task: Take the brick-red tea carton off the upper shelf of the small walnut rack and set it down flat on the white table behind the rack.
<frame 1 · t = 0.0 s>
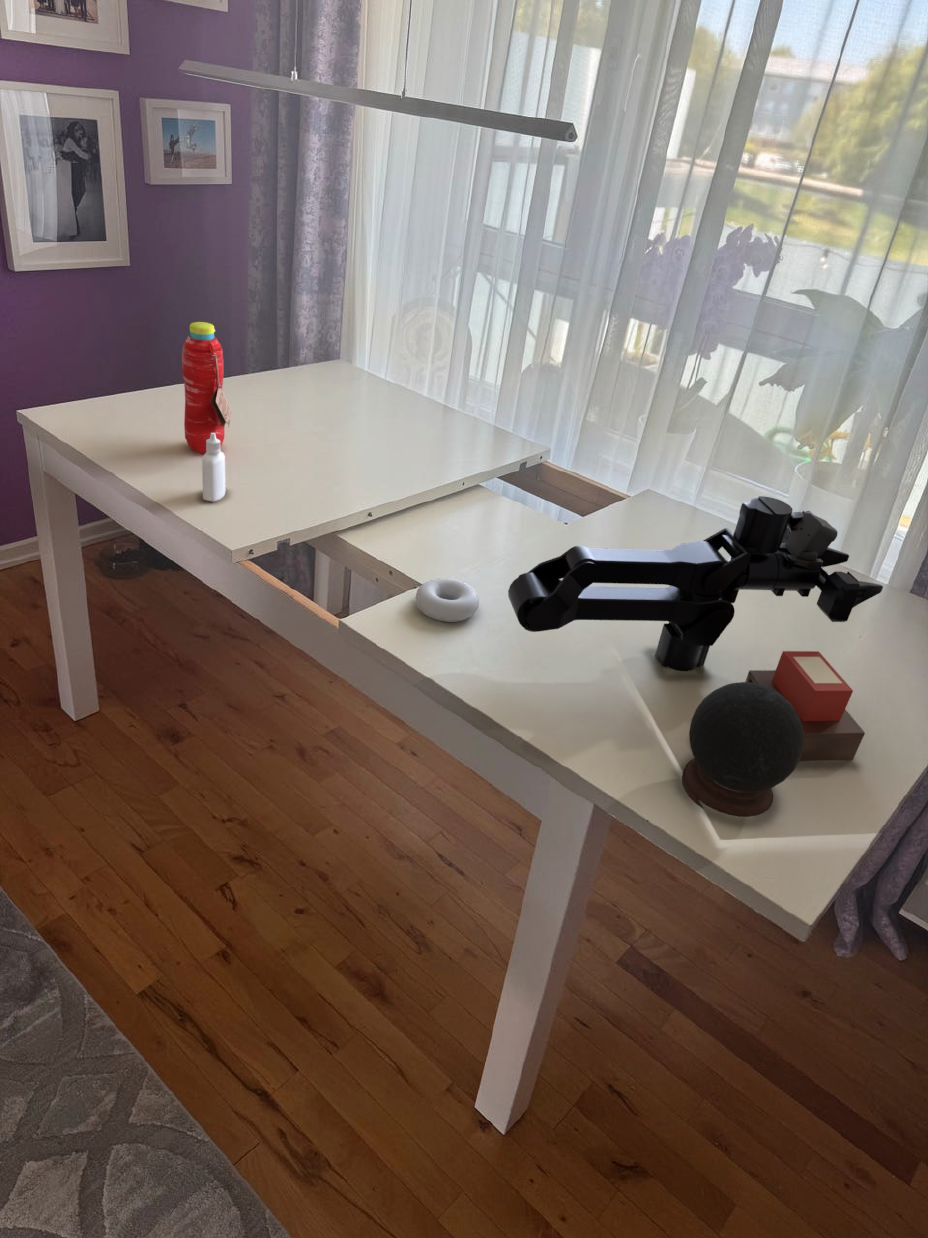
hand: (864, 572, 133), 17 cm above the table, tool horizontal, fingers open, 9 cm apart
eye dropper bottle: (214, 496, 166), on the table
water bottle: (209, 452, 183), on the table
tea carton: (805, 700, 123), point 5 cm above the table, touching walnut rack
donut: (445, 609, 142), on the table
sphere on wooden stand: (725, 790, 114), on the table
walnut rack: (792, 731, 126), on the table
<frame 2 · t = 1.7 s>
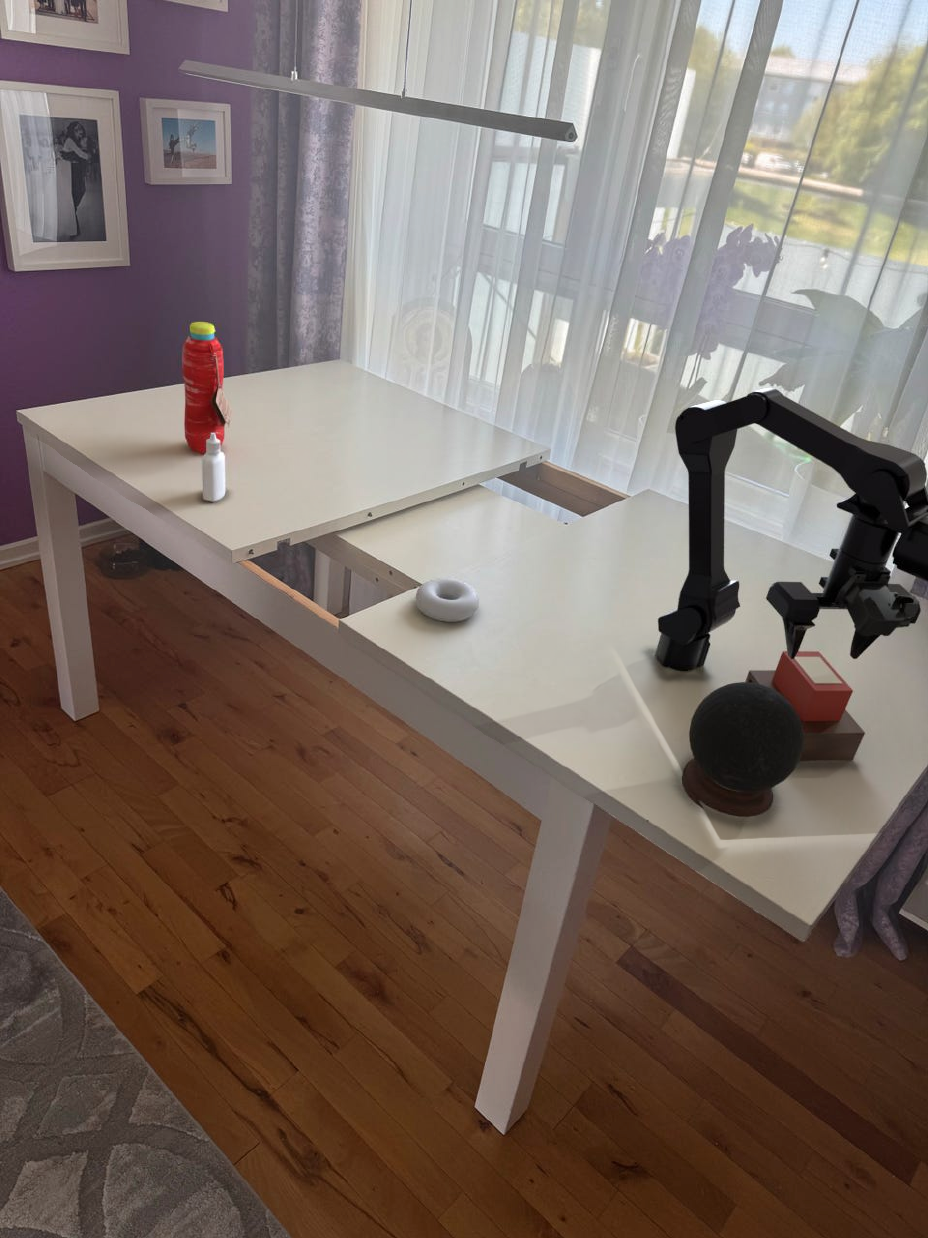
hand: (822, 657, 119), 12 cm above the table, tool pointing down, fingers open, 9 cm apart
nothing on the table moved.
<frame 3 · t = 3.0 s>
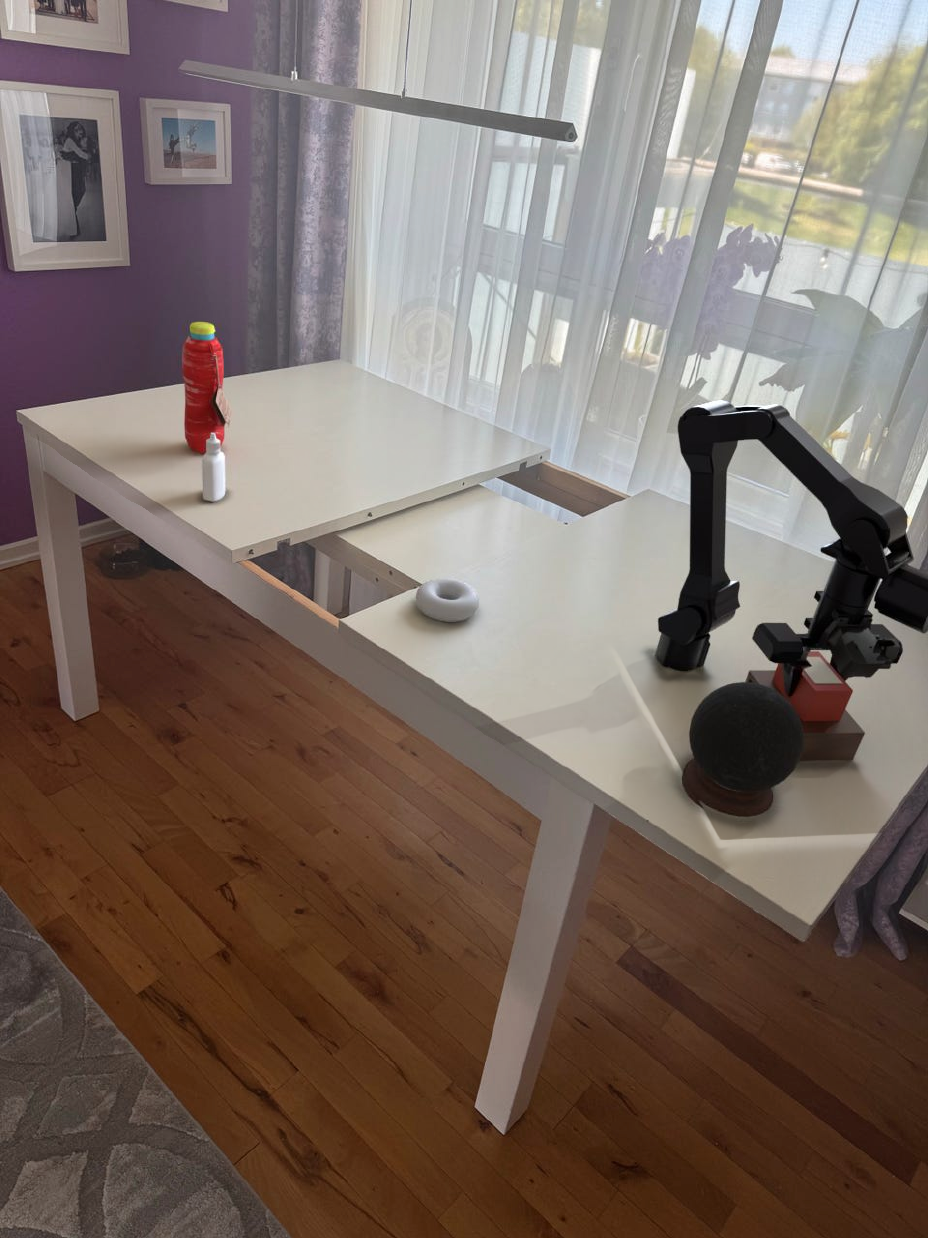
hand: (807, 694, 123), 6 cm above the table, tool pointing down, fingers closed on tea carton, 5 cm apart
tea carton: (805, 700, 123), point 5 cm above the table, touching gripper, walnut rack
everything else where it was.
when the fingers open (1 cm above the table, at t = 8.8 s): tea carton stays where it is, on the table.
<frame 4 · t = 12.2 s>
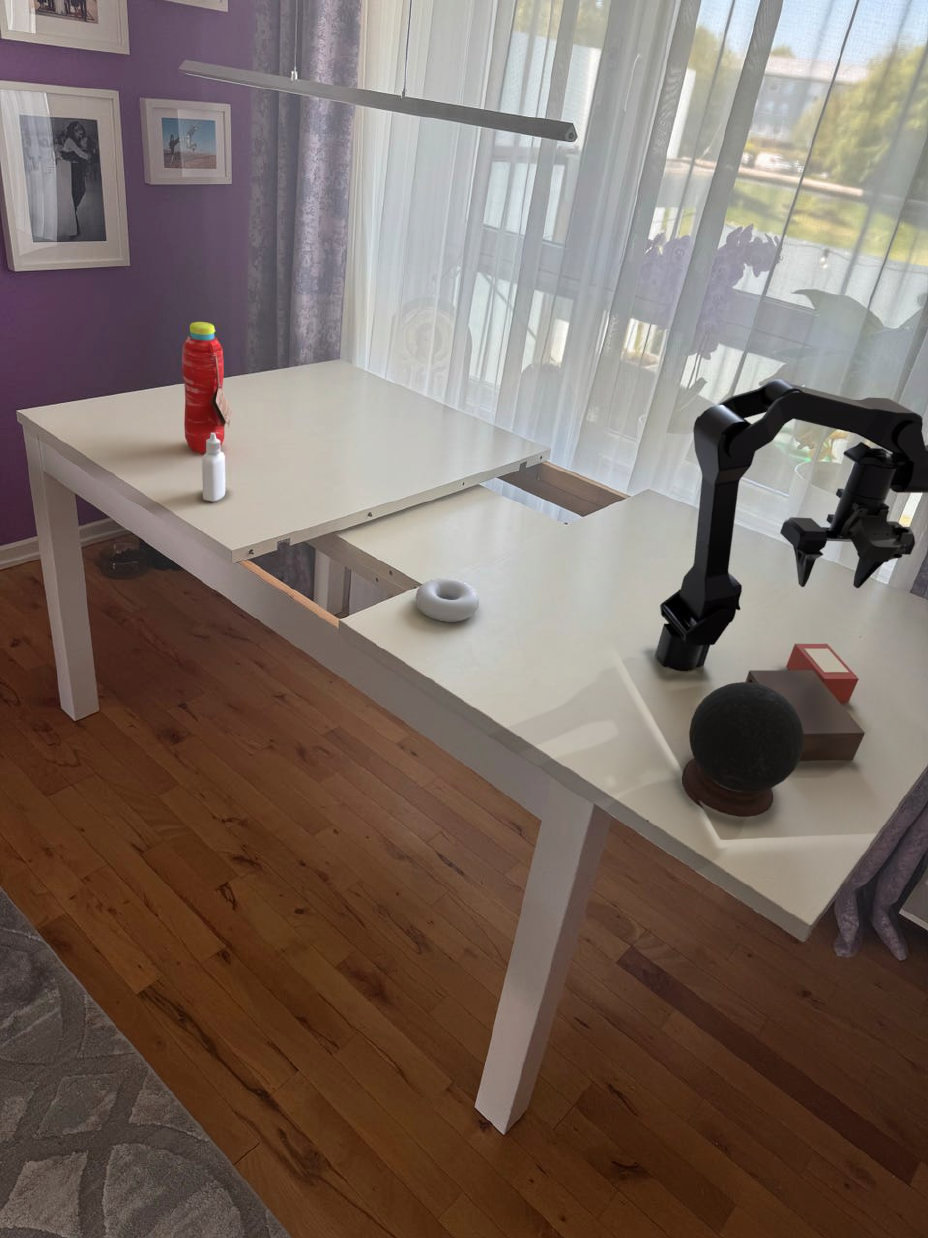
hand: (828, 586, 136), 13 cm above the table, tool pointing down, fingers open, 9 cm apart
tea carton: (815, 688, 136), on the table
everything else where it was.
at the end: tea carton inside the target area (0.0 cm from its centre), on the table; tea carton tilted 0°; the gripper is holding nothing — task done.
